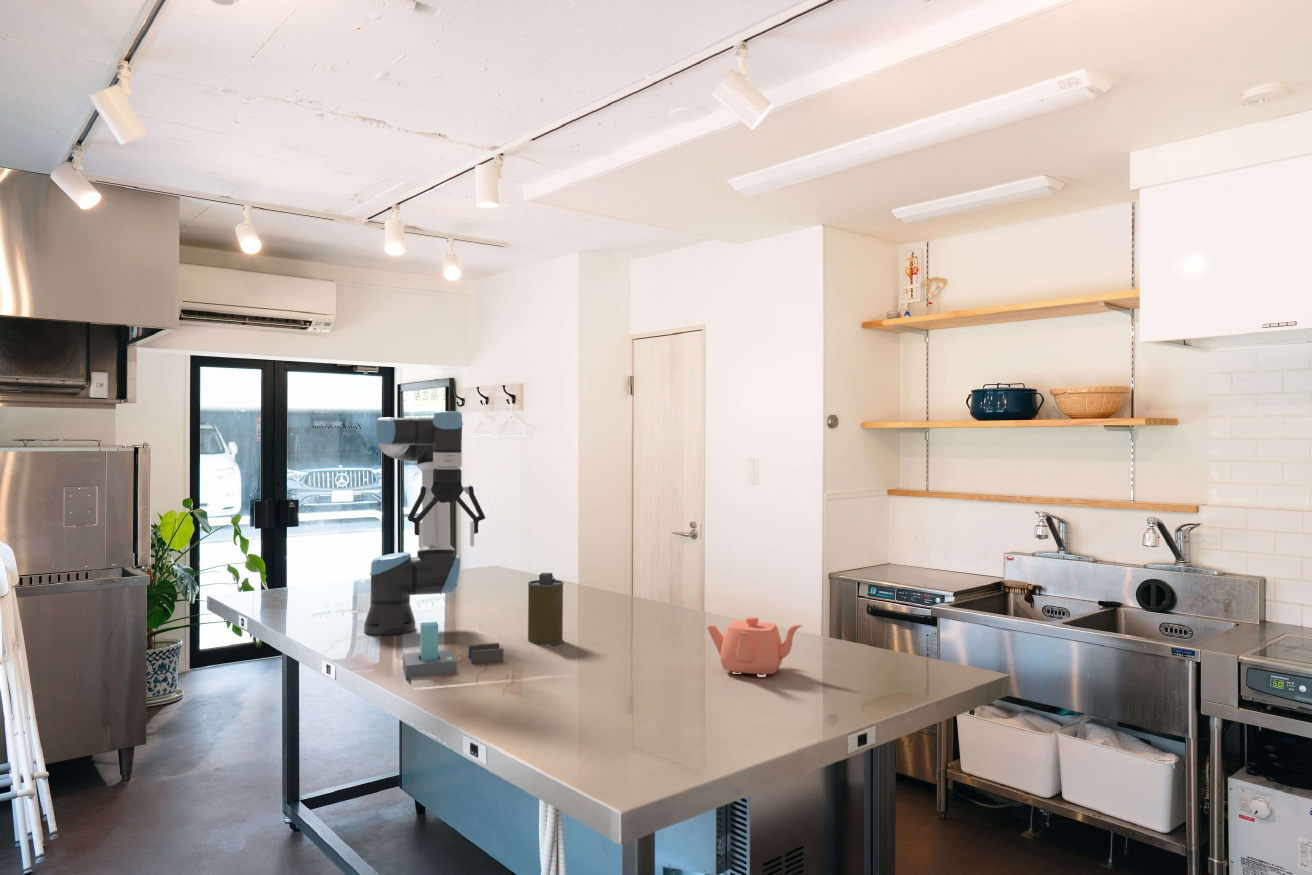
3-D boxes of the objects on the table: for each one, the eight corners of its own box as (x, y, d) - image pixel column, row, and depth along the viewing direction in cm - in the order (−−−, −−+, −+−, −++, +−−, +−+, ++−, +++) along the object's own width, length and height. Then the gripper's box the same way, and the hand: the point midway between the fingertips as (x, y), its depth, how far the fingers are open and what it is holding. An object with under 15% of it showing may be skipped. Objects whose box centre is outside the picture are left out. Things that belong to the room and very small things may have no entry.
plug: (420, 670, 213) (420, 622, 213) (436, 668, 214) (436, 621, 214) (421, 674, 209) (421, 626, 209) (437, 672, 210) (438, 625, 211)
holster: (468, 659, 224) (468, 645, 224) (498, 656, 226) (498, 642, 226) (472, 666, 217) (472, 651, 217) (503, 663, 220) (503, 649, 220)
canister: (556, 646, 238) (557, 576, 238) (521, 644, 240) (522, 575, 240) (568, 638, 249) (568, 571, 249) (534, 636, 251) (535, 569, 251)
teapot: (803, 676, 210) (803, 621, 210) (740, 685, 202) (741, 627, 202) (762, 659, 226) (763, 608, 226) (703, 667, 218) (703, 613, 218)
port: (402, 667, 215) (403, 651, 215) (450, 663, 219) (450, 647, 219) (406, 679, 204) (406, 662, 204) (456, 675, 208) (456, 658, 208)
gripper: (399, 469, 218) (398, 550, 218) (495, 468, 226) (494, 546, 227) (398, 467, 225) (397, 546, 225) (491, 467, 234) (490, 543, 234)
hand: (446, 546), depth 226 cm, fingers open, 13 cm apart
